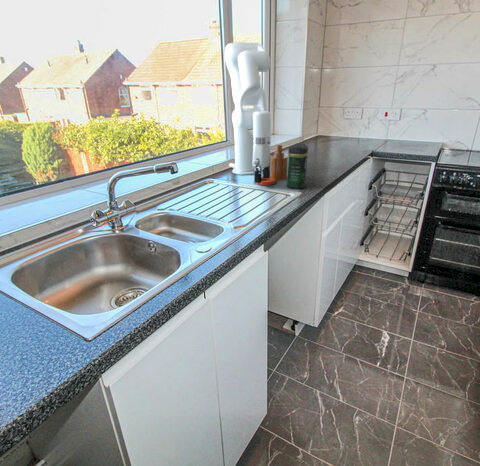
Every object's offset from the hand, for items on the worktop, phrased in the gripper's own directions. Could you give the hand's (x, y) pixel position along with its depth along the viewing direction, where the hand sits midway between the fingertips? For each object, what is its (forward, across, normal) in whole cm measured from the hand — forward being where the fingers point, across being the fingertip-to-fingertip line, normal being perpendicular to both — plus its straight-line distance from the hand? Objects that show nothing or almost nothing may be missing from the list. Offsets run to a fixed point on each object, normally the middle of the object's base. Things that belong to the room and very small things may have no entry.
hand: (262, 180), depth 149 cm
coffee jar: (+3, -4, +15) cm, 16 cm away
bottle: (+2, -15, +2) cm, 15 cm away
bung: (+2, -5, 0) cm, 5 cm away
